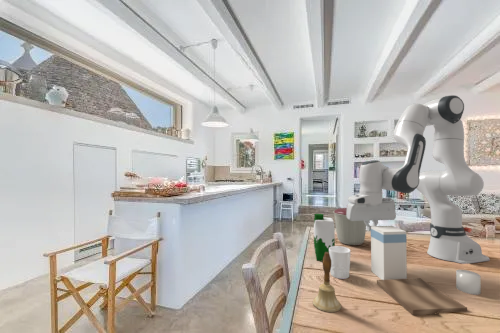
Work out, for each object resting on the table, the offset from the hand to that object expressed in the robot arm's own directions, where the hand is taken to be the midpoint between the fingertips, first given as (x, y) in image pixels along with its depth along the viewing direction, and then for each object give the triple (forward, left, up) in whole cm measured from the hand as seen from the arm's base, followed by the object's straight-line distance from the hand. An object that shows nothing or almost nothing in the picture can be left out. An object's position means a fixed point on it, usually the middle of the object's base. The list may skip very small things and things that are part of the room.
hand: (371, 230), depth 105 cm
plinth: (0, +27, -14) cm, 30 cm away
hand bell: (+30, +29, -14) cm, 44 cm away
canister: (-4, -28, -14) cm, 32 cm away
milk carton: (+18, -7, -14) cm, 24 cm away
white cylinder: (-19, +25, -14) cm, 34 cm away
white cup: (+18, +10, -14) cm, 25 cm away
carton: (0, +12, -14) cm, 18 cm away
